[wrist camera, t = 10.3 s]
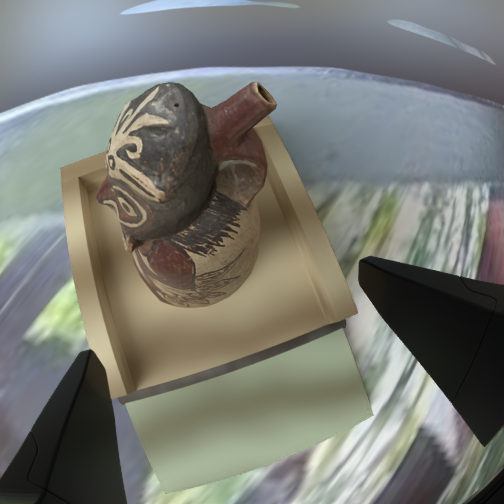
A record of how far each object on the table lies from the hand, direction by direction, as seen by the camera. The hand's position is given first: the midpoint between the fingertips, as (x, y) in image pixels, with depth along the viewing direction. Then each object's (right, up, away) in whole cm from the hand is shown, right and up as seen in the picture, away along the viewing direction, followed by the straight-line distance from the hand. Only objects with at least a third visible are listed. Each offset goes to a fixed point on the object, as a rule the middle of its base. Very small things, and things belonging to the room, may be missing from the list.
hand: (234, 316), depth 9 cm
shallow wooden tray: (-2, -1, +10) cm, 10 cm away
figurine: (-3, +2, +9) cm, 10 cm away
